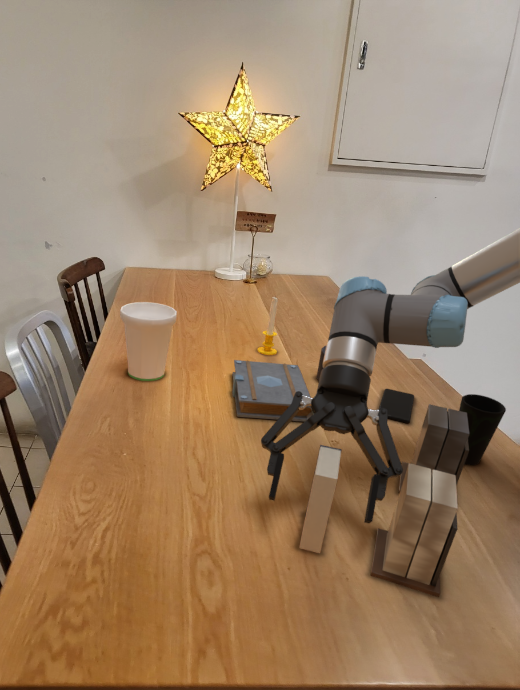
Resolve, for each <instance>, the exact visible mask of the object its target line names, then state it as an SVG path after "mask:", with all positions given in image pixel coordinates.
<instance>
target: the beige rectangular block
mask: <svg viewBox="0 0 520 690" xmlns="http://www.w3.org/2000/svg"><path fill="white" fill-rule="evenodd" d="M342 451H343V450H342V449H341V448H338V447H332V446H328V445H325V444H324V445H323V444H320V445H319V448H318V454H317V459H316V463H315V468H314V473H313V478H312V482H311V488H310V492H309V497H308V501H307V505H306V510H305V515H304V521H303V527H302V533H301V537H300V541H299V546H298V547H299V548H298V549H301V550H305V551H308V552H314V553H317V554H321V552H322V547H323V542H324V539H325V534H326V530H327V525H328V522H329V517H330V513H331V508H332V504H333V500H334V497H335V491H336V488H337V484H338V478H339V472H340V471H339V470H340V464H341V463H340V462H341V455H342Z"/></svg>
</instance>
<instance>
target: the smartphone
mask: <svg viewBox="0 0 520 690" xmlns="http://www.w3.org/2000/svg"><path fill="white" fill-rule="evenodd" d="M414 400H415V395H414V394H413V393H408V392H405V391H399V390H395V389H391V388H384V390H383V393H382V396H381V399H380V404H379V408H378V410H380V409H382V408H385V409H387V411H388V420H392V421H396V422H400V423H404V424H409V423H410V422H411V418H412V412H413V406H414Z"/></svg>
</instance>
